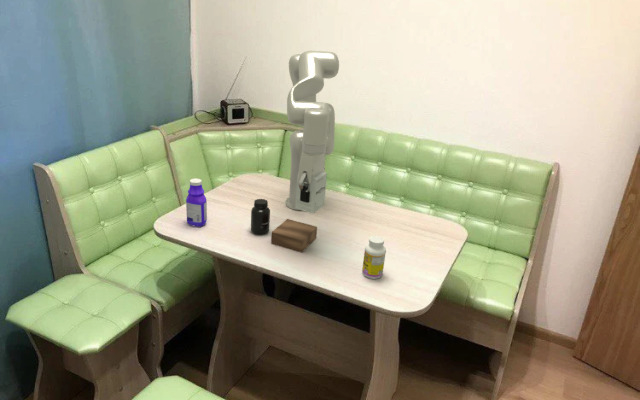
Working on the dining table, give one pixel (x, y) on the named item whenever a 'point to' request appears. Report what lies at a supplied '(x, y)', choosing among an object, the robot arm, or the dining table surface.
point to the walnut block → (294, 235)
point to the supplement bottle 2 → (374, 258)
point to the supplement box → (313, 194)
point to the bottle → (196, 204)
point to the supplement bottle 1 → (260, 217)
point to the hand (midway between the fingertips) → (310, 196)
